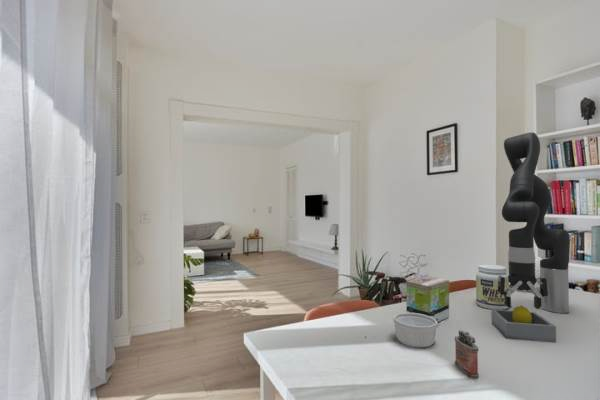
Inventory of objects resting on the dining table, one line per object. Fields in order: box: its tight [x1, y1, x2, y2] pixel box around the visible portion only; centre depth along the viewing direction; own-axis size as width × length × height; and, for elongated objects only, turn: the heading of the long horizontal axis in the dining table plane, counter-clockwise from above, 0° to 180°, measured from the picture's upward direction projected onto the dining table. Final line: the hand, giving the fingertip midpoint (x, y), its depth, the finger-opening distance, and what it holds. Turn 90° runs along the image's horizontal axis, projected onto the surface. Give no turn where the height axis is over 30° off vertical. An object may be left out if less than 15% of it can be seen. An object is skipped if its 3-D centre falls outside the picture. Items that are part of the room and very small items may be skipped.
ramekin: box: [393, 312, 438, 349], centre depth 105 cm, size 13×13×7 cm
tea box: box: [405, 276, 450, 323], centre depth 125 cm, size 15×10×15 cm, turn 131°
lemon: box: [512, 305, 532, 324], centre depth 111 cm, size 6×6×8 cm
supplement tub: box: [475, 264, 510, 310], centre depth 140 cm, size 12×12×17 cm
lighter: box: [454, 329, 480, 379], centre depth 86 cm, size 8×3×10 cm, turn 5°
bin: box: [491, 309, 557, 343], centre depth 112 cm, size 14×14×5 cm
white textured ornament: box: [523, 255, 543, 293], centre depth 164 cm, size 18×11×17 cm, turn 108°
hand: (522, 307), depth 111 cm, fingers open, 8 cm apart
